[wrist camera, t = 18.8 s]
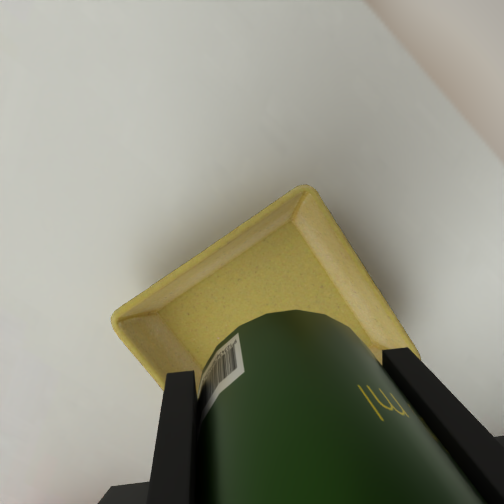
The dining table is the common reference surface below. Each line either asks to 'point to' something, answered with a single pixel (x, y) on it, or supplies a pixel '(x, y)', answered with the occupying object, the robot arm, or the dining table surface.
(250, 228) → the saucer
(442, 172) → the dining table surface
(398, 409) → the green soda can
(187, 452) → the robot arm
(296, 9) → the dining table surface
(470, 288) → the dining table surface
